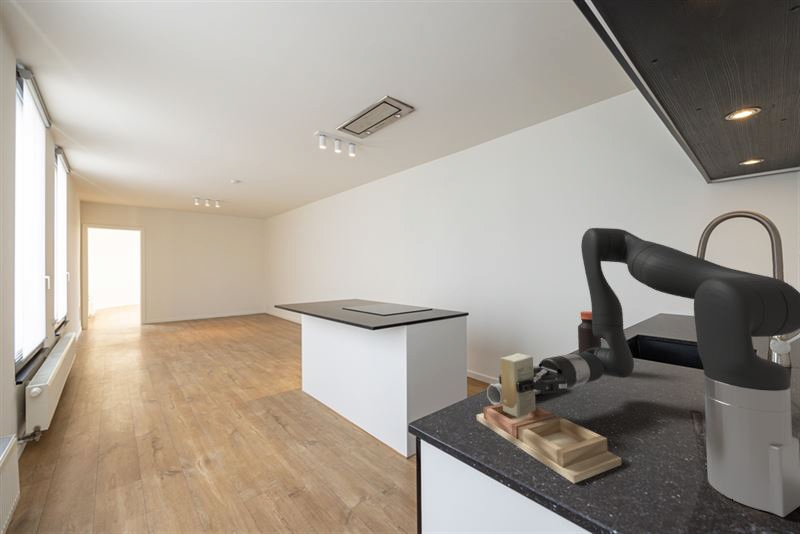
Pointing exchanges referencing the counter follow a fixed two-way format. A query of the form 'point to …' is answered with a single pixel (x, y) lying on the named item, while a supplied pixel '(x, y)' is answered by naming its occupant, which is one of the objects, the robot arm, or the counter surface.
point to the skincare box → (511, 373)
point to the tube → (498, 393)
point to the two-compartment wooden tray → (553, 441)
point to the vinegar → (587, 333)
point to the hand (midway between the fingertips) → (508, 383)
